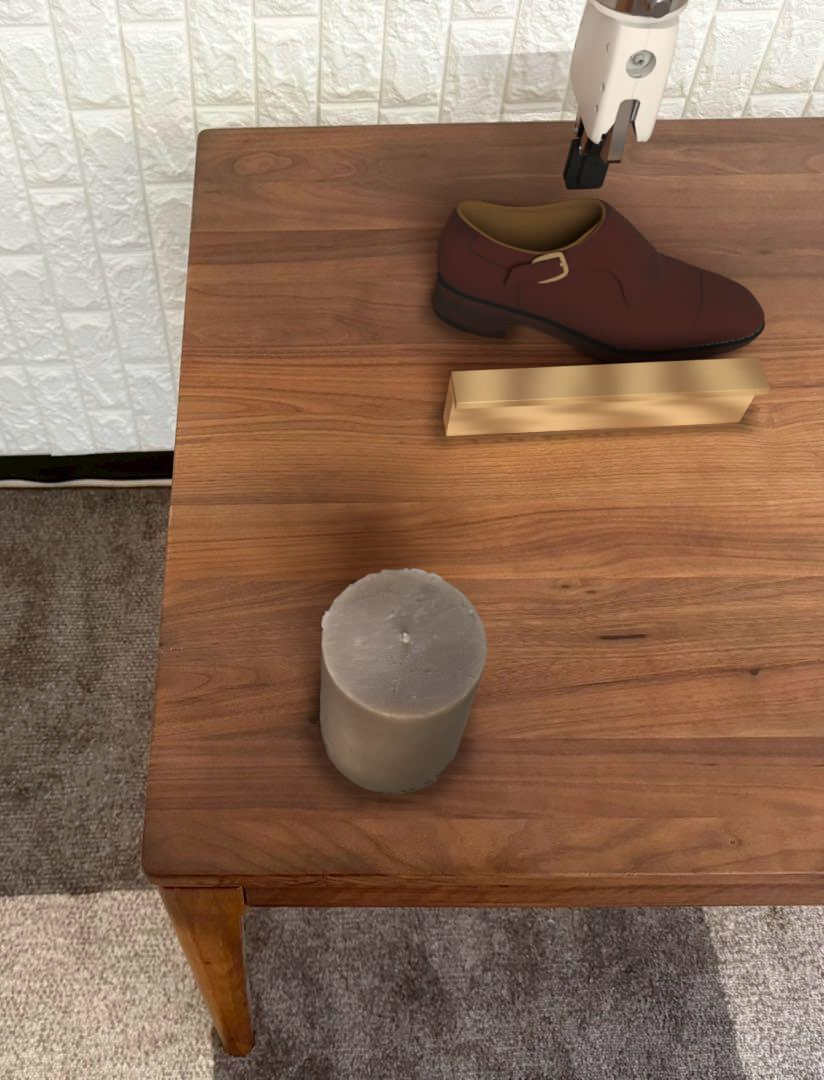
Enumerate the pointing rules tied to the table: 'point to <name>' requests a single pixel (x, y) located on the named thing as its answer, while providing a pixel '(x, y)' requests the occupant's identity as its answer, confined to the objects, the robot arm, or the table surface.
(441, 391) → the table surface
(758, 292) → the table surface
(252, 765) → the table surface
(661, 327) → the dress shoe
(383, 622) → the pillar candle
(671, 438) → the table surface
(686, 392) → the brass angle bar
